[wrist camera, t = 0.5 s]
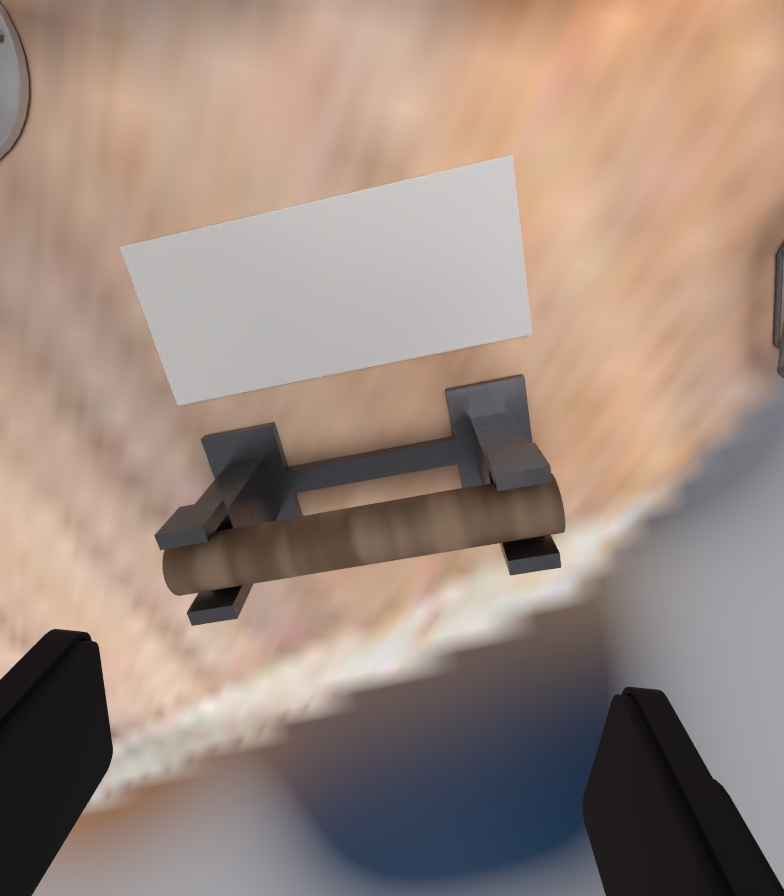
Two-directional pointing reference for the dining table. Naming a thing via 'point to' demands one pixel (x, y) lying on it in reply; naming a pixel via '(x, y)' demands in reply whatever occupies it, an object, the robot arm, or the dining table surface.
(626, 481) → the dining table surface
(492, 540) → the rod
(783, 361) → the geometric lantern
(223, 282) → the mat
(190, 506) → the rack
